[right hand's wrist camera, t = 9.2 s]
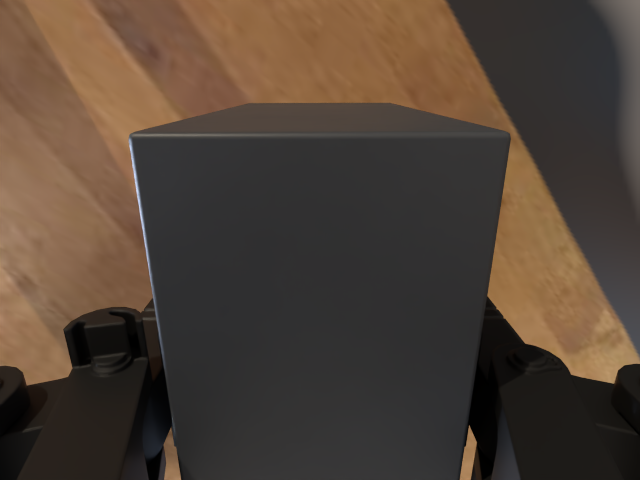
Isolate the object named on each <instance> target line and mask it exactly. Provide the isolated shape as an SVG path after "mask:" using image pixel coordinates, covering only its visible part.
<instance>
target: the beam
mask: <svg viewBox="0 0 640 480" xmlns="http://www.w3.org/2000/svg"><path fill="white" fill-rule="evenodd" d="M510 140H511V138H510V134H509V133H508V132H506V131H502V130H498V129H494V128H490V127H486V126H482V125H478V124H474V123H470V122H466V121H461V120H457V119H453V118H449V117H445V116H441V115H437V114H433V113H429V112H425V111H421V110H416V109H412V108H408V107H404V106H400V105H396V104H392V103H248V104H244V105H240V106H236V107H232V108H228V109H224V110H220V111H216V112H212V113H208V114H204V115H200V116H196V117H192V118H188V119H184V120H180V121H176V122H172V123H168V124H164V125H160V126H156V127H152V128H148V129H144V130H140V131H136V132H133V133H131V134H130V135H129V145H130V152H131V158H132V164H133V171H134V177H135V184H136V190H137V197H138V203H139V210H140V216H141V222H142V229H143V235H144V242H145V248H146V255H147V261H148V268H149V274H150V281H151V287H152V293H153V300H154V306H155V313H156V319H157V326H158V332H159V339H160V345H161V352H162V358H163V364H164V371H165V377H166V384H167V390H168V397H169V403H170V410H171V416H172V422H173V429H174V435H175V442H176V448H177V455H178V461H179V468H180V474H181V480H460V473H461V466H462V460H463V453H464V446H465V440H466V433H467V426H468V420H469V413H470V406H471V400H472V393H473V386H474V380H475V373H476V366H477V360H478V353H479V346H480V340H481V333H482V326H483V320H484V313H485V307H486V300H487V293H488V287H489V280H490V273H491V267H492V260H493V253H494V247H495V240H496V233H497V227H498V220H499V213H500V207H501V200H502V193H503V187H504V180H505V173H506V167H507V160H508V153H509V147H510Z"/></svg>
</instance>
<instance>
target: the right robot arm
mask: <svg viewBox="0 0 640 480" xmlns="http://www.w3.org/2000/svg"><path fill="white" fill-rule="evenodd" d="M63 330H64V334H65V338H66V342H67V347H68V351H69V355H70V359H71V363H72V367H73V369H72V371H71V373H70V375H69V377H66V378H63V379H58V380H53V381H48V382H43V383H38V384H33V385H28V386H27V385H26V382H25V378H24V375H23V372H22V371H20V370H19V369H18V368H16V367H10V366H0V480H164V475H165V467H166V459H165V452H164V446H163V444H164V442H165V439H166V437H167V435H168V433H169V430H170V428H171V426H172V433H173V439H174V446H176V442H175V435H174V429H173V422H172V416H171V410H170V403H169V397H168V390H167V384H166V377H165V371H164V364H163V358H162V352H161V345H160V339H159V332H158V326H157V319H156V313H155V306H154V300H153V298H152V300H151V301H150V302H149V304H148V305H147V306H146V307H145V309H144V311H142V312H141V313H140V312H138V311H137V310H136V309H132V308H127V307H111V308H105V309H100V310H96V311H93V312H90V313H87V314H84V315H82V316H80V317H78V318H77V319H75V320H73V321H71V322H70V323H69V324H68V325H67V326H66V327H65V328H64V329H63ZM469 425H470V428H471V430H472V432H473V434H474V437H475V439H476V441H477V446H476V452H475V458H474V464H473V470H472V476H471V480H640V364H631V365H625V366H623V367H622V368H621V369H619V370H618V373H617V376H616V380H615V383H614V384H612V383H607V382H602V381H597V380H592V379H586V378H581V377H577V376H574V375H571V374H570V372H569V370H568V368H567V367H566V365H565V364H564V363H563V362H562V361H561V359H559V358H558V357H556V356H555V355H553V354H552V353H550V352H549V351H546V350H544V349H541V348H539V347H537V346H533V345H528V344H525V343H524V342H523V340H522V339H521V338H520V337H519V335H518V334H517V333H516V332H515V330H514V329H513V328H512V327H511V325H510V324H509V323H508V322H507V320H506V319H504V318H503V315H502V314H501V313H500V312H499V310H496V307H495V305H494V304H493V303H492V301H491V300H490V299H489V298H488V297H487V300H486V307H485V313H484V320H483V326H482V333H481V340H480V346H479V353H478V360H477V366H476V373H475V380H474V386H473V393H472V400H471V406H470V413H469V420H468V426H467V433H466V440H465V446H466V441H467V435H468V428H469Z"/></svg>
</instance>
